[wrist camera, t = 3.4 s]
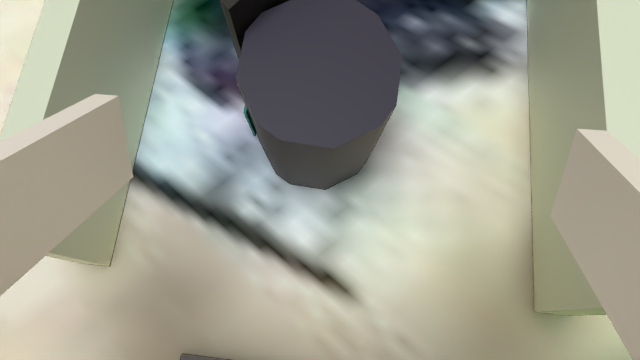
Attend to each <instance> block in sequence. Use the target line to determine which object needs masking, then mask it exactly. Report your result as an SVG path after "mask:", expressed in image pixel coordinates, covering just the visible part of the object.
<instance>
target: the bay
mask: <svg viewBox="0 0 640 360" xmlns="http://www.w3.org/2000/svg"><path fill="white" fill-rule="evenodd" d="M172 3H173V0H45V2H44V5H43V8H42V11H41V14H40V17H39V20H38V23H37V26H36V29H35V32H34V35H33V38H32V41H31V44H30V47H29V50H28V53H27V56H26V59H25V62H24V65H23V68H22V71H21V74H20V77H19V80H18V83H17V86H16V89H15V92H14V95H13V98H12V101H11V104H10V107H9V110H8V113H7V116H6V119H5V122H4V125H3V128H2V131H1V134H0V141H2V140H4V139H6V138H8V137H10V136H12V135H14V134H16V133H18V132H20V131H22V130H24V129H26V128H28V127H30V126H32V125H34V124H36V123H38V122H40V121H42V120H44V119H46V118H48V117H50V116H52V115H54V114H56V113H58V112H60V111H62V110H64V109H66V108H68V107H70V106H72V105H74V104H76V103H78V102H80V101H82V100H84V99H86V98H88V97H90V96H92V95H94V94H102V95H116V96H119V101H120V106H121V112H122V117H123V123H124V128H125V134H126V139H127V145H128V150H129V156H130V161H131V167H132V171H133V167H134V162H135V158H136V154H137V150H138V146H139V141H140V137H141V133H142V129H143V125H144V120H145V116H146V112H147V108H148V104H149V99H150V95H151V91H152V87H153V83H154V79H155V74H156V70H157V66H158V62H159V58H160V53H161V49H162V45H163V41H164V37H165V32H166V28H167V24H168V20H169V16H170V11H171V7H172ZM527 34H528V74H529V114H530V153H531V193H532V233H533V273H534V312H540V313H550V314H559V315H568V316H575V315H605V314H606V312H605V310H604V308H603V307H602V305H601V303H600V301H599V300H598V298H597V296H596V295H595V293H594V291H593V289H592V288H591V286H590V284H589V282H588V281H587V279H586V277H585V275H584V274H583V272H582V270H581V268H580V267H579V265H578V263H577V261H576V260H575V258H574V256H573V254H572V253H571V251H570V249H569V247H568V246H567V244H566V242H565V240H564V239H563V237H562V235H561V233H560V232H559V230H558V228H557V226H556V225H555V223H554V221H553V219H552V218H551V212H552V209H553V206H554V202H555V199H556V196H557V192H558V189H559V186H560V183H561V179H562V176H563V173H564V169H565V166H566V163H567V159H568V156H569V153H570V150H571V146H572V143H573V140H574V136H575V133H576V130H577V129H589V130H603V131H608V132H609V133H610V134H611V135H612V136H614V137H615V138H616V139H617V140H618V141H619V142H620V143H621V144H623V145H624V146H625V147H626V148H627V149H628V150H629V151H631V152H632V153H633V154H634V155H635V156H636V157H637V158H639V159H640V0H527ZM129 183H130V180H129V181H128V182H127V183H126V184H125V185H124V186H123V187H122V188H120V189H119V190H118V191H117V192H116V193H115V194H114V195H113V196H112V197H110V198H109V199H108V200H107V201H106V202H105V203H104V204H103V205H101V206H100V207H99V208H98V209H97V210H96V211H95V212H94V213H93V214H91V215H90V216H89V217H88V218H87V219H86V220H85V221H84V222H82V223H81V224H80V225H79V226H78V227H77V228H76V229H75V230H74V231H72V232H71V233H70V234H69V235H68V236H67V237H66V238H65V239H63V240H62V241H61V242H60V243H59V244H58V245H57V246H56V247H55V248H53V249H52V250H51V251H50V252H49V253H48V254H47V255H46V256H49V257H53V258H58V259H63V260H67V261H72V262H77V263H81V264H91V265H100V266H110V263H111V259H112V255H113V250H114V246H115V242H116V238H117V234H118V229H119V225H120V221H121V217H122V213H123V208H124V204H125V200H126V196H127V192H128V187H129Z"/></svg>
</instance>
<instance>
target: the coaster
mask: <svg viewBox="0 0 640 360" xmlns="http://www.w3.org/2000/svg"><path fill="white" fill-rule="evenodd" d="M180 360H229V359H221V358H214V357H206V356H198V355H190V354H181V356H180Z"/></svg>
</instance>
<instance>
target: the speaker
mask: <svg viewBox="0 0 640 360" xmlns="http://www.w3.org/2000/svg"><path fill="white" fill-rule="evenodd" d="M220 4H221V7H222V10H223V13H224V16H225V19H226V22H227V25H228V28H229V32H230V35H231V38H232V41H233V44H234V47H235V50H236V53H237V56H238V59H239V64H238V69H237V73H236V78H235V79H236V82H237V85H238V87H239V90H240V92H241V95H242V97H243V100H244V102H245V108H244V114H245V117H246V119H247V121H248V123H249V126H250V128H251V130H252V132H253V135H254V136H256V133H257V135H258V138H259V141H260V143H261V145H262V147H263V149H264V151H265V153H266V155H267V157H268V159H269V161H270V163H271V165H272V167H273V169H274V171H275V173H276V174H277V175H279V176H280V177H281V178H283V179H284V180H286V181H287V182H288V183H290V184H294V185H300V186H307V187H313V188H319V189H325V190H326V189H328V188H330V187H332V186H334V185H336V184H338V183H340V182H342V181H344V180H346V179H348V178H350V177H352V176H354V175H356V174H357V173H358V172H359V171H360V169H361V168H362V166H363V165H364V164H365V162H366V161H367V159H368V158H369V156H370V154H371V152H372V150H373V148H374V146H375V144H376V143H377V141H378V139H379V137H380V135H381V133H382V131H383V129H384V127H385V126H386V124H387V122H388V120H389V118H390V116H391V114H392V112H393V110H394V109H395V107H396V103H397V95H398V88H399V80H400V73H401V65H402V58H403V57H402V56H401V54H400V52H399V50H398V49H397V47H396V45H395V43H394V42H393V40H392V38H391V37H390V35H389V33H388V31H387V30H386V28H385V26H384V24H383V23H382V21H381V19H380V18H379V16H378V15H377V14H376V13H374V12H373V11H371V10H370V9H368V8H367V7H365V6H364V5H362V4H361V3H359V2H358V1H354V0H220Z"/></svg>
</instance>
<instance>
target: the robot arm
mask: <svg viewBox="0 0 640 360" xmlns="http://www.w3.org/2000/svg"><path fill="white" fill-rule="evenodd" d="M132 178H133V172H132V167H131V161H130V156H129V150H128V145H127V139H126V134H125V128H124V123H123V117H122V112H121V106H120V101H119V96H116V95H102V94H94V95H92V96H90V97H88V98H86V99H84V100H82V101H80V102H78V103H76V104H74V105H72V106H70V107H68V108H66V109H64V110H62V111H60V112H58V113H56V114H54V115H52V116H50V117H48V118H46V119H44V120H42V121H40V122H38V123H36V124H34V125H32V126H30V127H28V128H26V129H24V130H22V131H20V132H18V133H16V134H14V135H12V136H10V137H8V138H6V139H4V140H2V141H0V296H1V295H2V294H3V293H4V292H5V291H6V290H8V289H9V288H10V287H11V286H12V285H13V284H14V283H15V282H17V281H18V280H19V279H20V278H21V277H22V276H23V275H24V274H25V273H27V272H28V271H29V270H30V269H31V268H32V267H33V266H34V265H36V264H37V263H38V262H39V261H40V260H41V259H42V258H43V257H44V256H46V255H47V254H48V253H49V252H50V251H51V250H52V249H53V248H55V247H56V246H57V245H58V244H59V243H60V242H61V241H62V240H63V239H65V238H66V237H67V236H68V235H69V234H70V233H71V232H72V231H74V230H75V229H76V228H77V227H78V226H79V225H80V224H81V223H82V222H84V221H85V220H86V219H87V218H88V217H89V216H90V215H91V214H93V213H94V212H95V211H96V210H97V209H98V208H99V207H100V206H101V205H103V204H104V203H105V202H106V201H107V200H108V199H109V198H110V197H112V196H113V195H114V194H115V193H116V192H117V191H118V190H119V189H120V188H122V187H123V186H124V185H125V184H126V183H127V182H128V181H129V180H131V179H132ZM551 218H552V219H553V221H554V223H555V225H556V226H557V228H558V230H559V232H560V233H561V235H562V237H563V239H564V240H565V242H566V244H567V246H568V247H569V249H570V251H571V253H572V254H573V256H574V258H575V260H576V261H577V263H578V265H579V267H580V268H581V270H582V272H583V274H584V275H585V277H586V279H587V281H588V282H589V284H590V286H591V288H592V289H593V291H594V293H595V295H596V296H597V298H598V300H599V301H600V303H601V305H602V307H603V308H604V310H605V312H606V314H607V315H608V317H609V319H610V321H611V322H612V324H613V326H614V328H615V329H616V331H617V333H618V335H619V336H620V338H621V340H622V342H623V343H624V345H625V347H626V349H627V350H628V352H629V354H630V356H631V357H632V359H633V360H640V159H639V158H637V157H636V156H635V155H634V154H633V153H632V152H631V151H629V150H628V149H627V148H626V147H625V146H624V145H623V144H621V143H620V142H619V141H618V140H617V139H616V138H615V137H614V136H612V135H611V134H610V133H609V132H608V131H603V130H589V129H577V130H576V133H575V136H574V140H573V143H572V146H571V150H570V153H569V156H568V159H567V163H566V166H565V169H564V173H563V176H562V179H561V183H560V186H559V189H558V192H557V196H556V199H555V202H554V206H553V209H552V212H551Z"/></svg>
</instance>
